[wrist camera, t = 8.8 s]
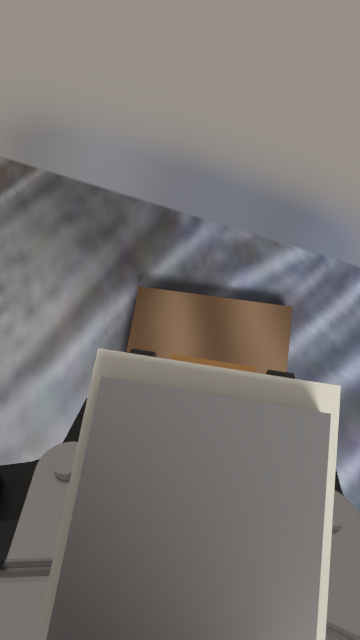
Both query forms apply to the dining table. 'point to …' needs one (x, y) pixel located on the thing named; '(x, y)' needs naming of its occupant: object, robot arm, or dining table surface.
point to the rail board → (211, 328)
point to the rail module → (196, 505)
